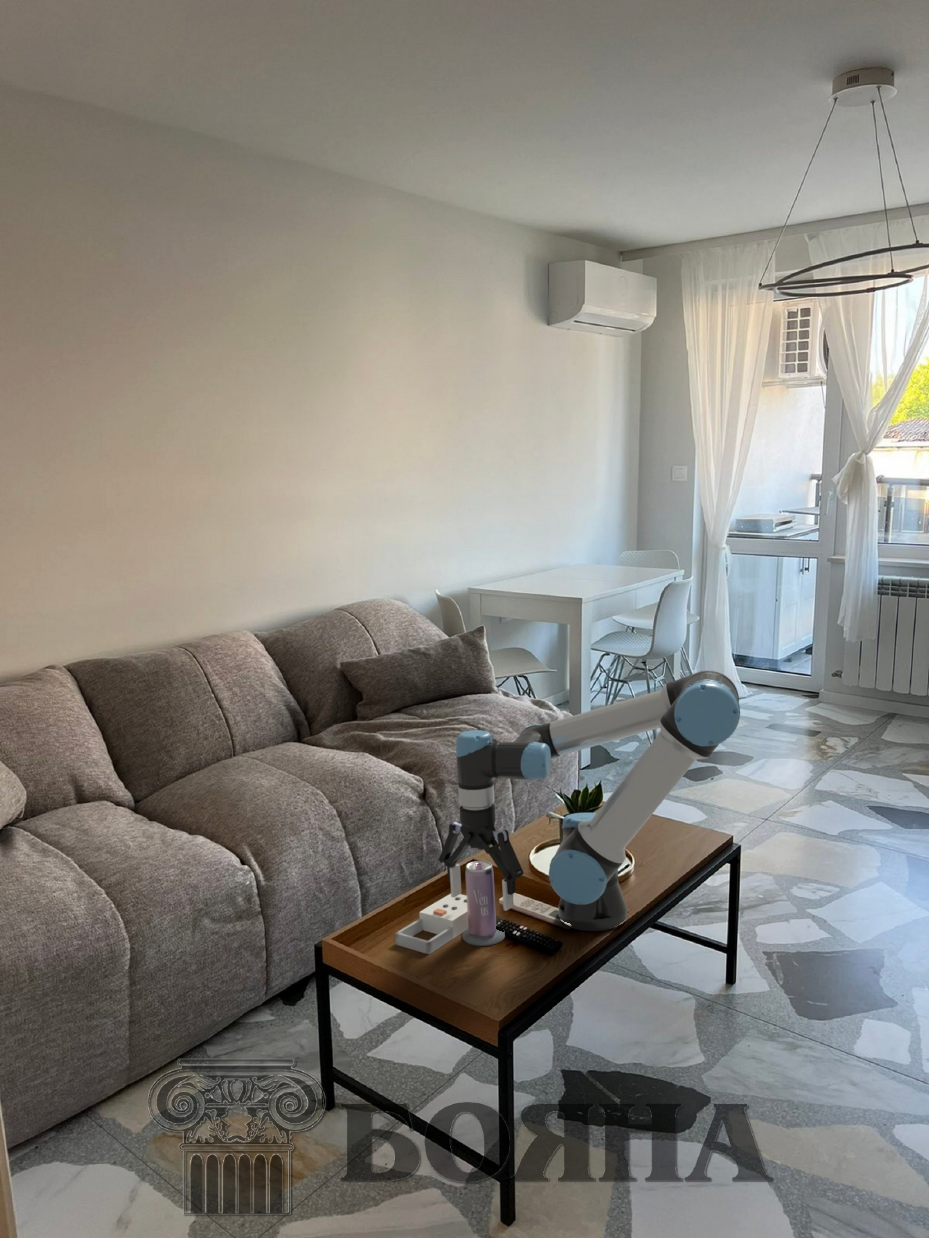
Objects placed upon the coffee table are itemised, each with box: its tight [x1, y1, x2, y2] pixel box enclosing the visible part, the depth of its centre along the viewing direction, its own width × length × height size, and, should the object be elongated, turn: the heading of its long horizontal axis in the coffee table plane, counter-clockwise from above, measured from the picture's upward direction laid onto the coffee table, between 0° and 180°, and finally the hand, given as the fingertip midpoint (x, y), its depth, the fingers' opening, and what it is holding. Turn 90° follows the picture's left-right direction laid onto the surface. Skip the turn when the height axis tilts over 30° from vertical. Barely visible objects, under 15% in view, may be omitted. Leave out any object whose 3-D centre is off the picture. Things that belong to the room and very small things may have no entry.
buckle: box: [394, 893, 468, 955], centre depth 207 cm, size 28×9×5 cm, turn 144°
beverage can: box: [464, 860, 497, 939], centre depth 200 cm, size 6×6×15 cm
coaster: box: [462, 928, 506, 947], centre depth 201 cm, size 9×9×1 cm
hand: (482, 901), depth 200 cm, fingers open, 13 cm apart
